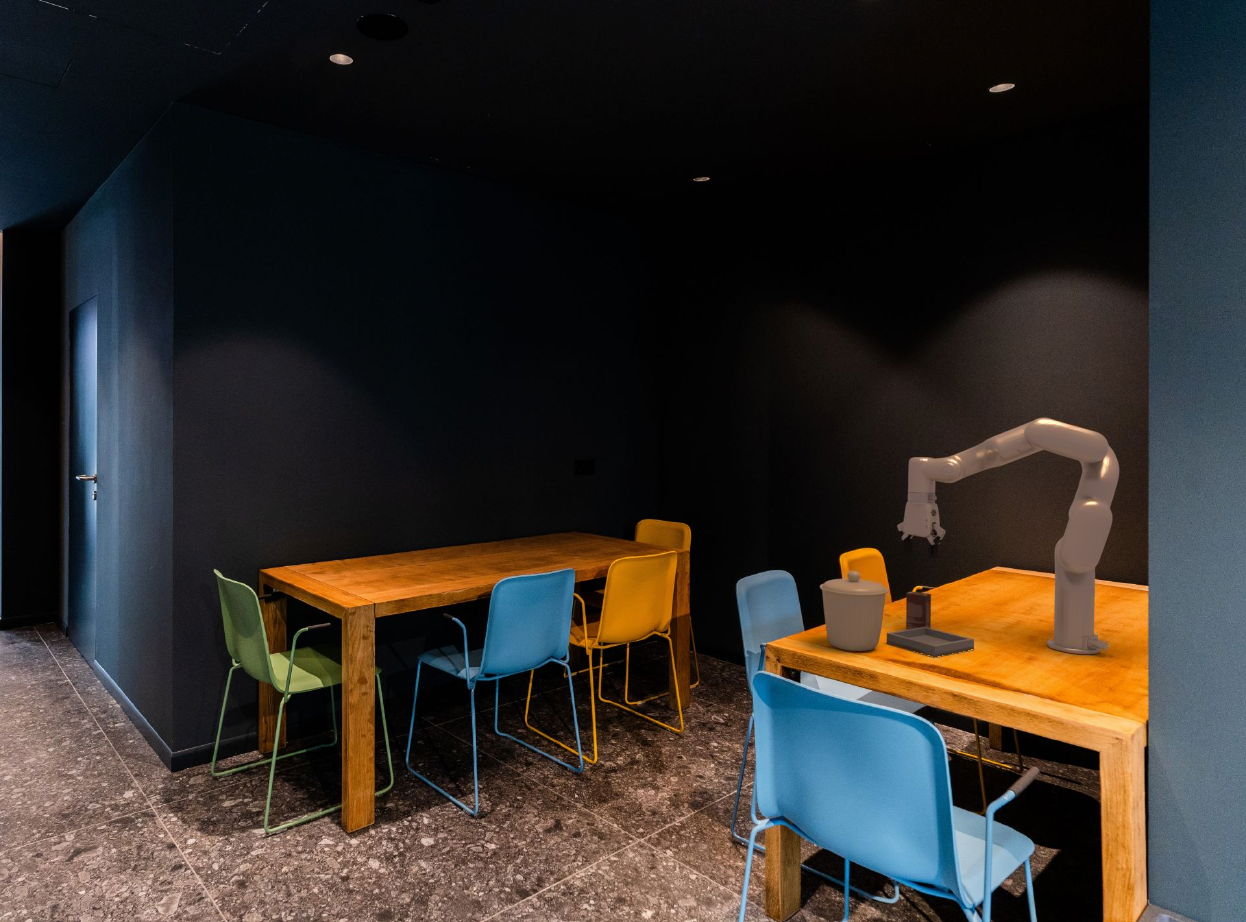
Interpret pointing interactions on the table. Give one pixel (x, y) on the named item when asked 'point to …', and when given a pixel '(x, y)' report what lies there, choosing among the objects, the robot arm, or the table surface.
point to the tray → (930, 641)
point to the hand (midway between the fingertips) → (920, 555)
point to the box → (918, 610)
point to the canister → (853, 612)
